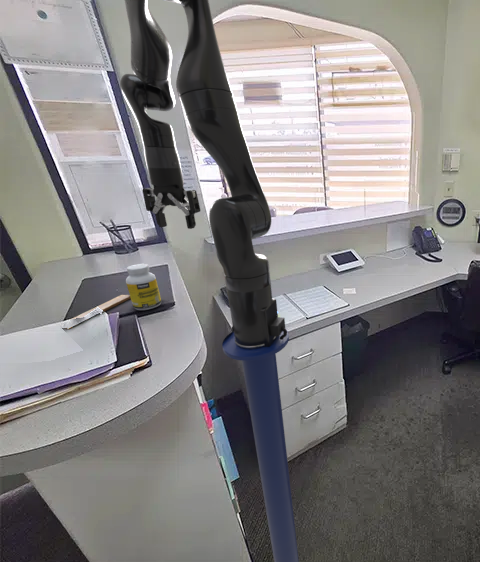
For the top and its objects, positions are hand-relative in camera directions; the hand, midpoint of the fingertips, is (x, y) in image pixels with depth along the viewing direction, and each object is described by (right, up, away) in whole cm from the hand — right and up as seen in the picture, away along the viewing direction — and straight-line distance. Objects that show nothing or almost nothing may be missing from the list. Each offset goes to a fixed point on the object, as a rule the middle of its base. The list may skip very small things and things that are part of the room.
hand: (177, 227), depth 87 cm
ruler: (-18, -23, -5) cm, 30 cm away
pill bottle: (-7, -22, -1) cm, 23 cm away
